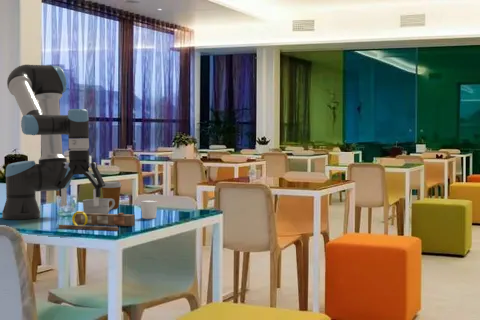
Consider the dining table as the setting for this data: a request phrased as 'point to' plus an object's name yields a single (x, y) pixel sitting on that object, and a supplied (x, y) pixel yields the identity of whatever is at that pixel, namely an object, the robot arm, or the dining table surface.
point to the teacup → (102, 208)
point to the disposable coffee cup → (112, 192)
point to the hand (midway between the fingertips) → (80, 205)
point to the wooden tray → (102, 221)
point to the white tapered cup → (149, 209)
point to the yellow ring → (84, 216)
